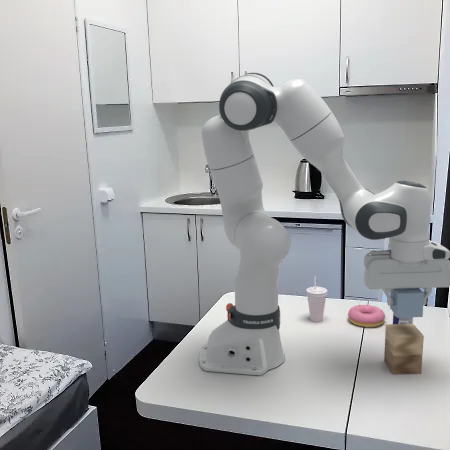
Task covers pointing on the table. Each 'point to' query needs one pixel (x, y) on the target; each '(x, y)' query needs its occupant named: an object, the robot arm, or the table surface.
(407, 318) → the energy drink
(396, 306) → the blue block
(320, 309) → the smoothie
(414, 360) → the tower base
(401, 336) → the tower top
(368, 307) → the doughnut
